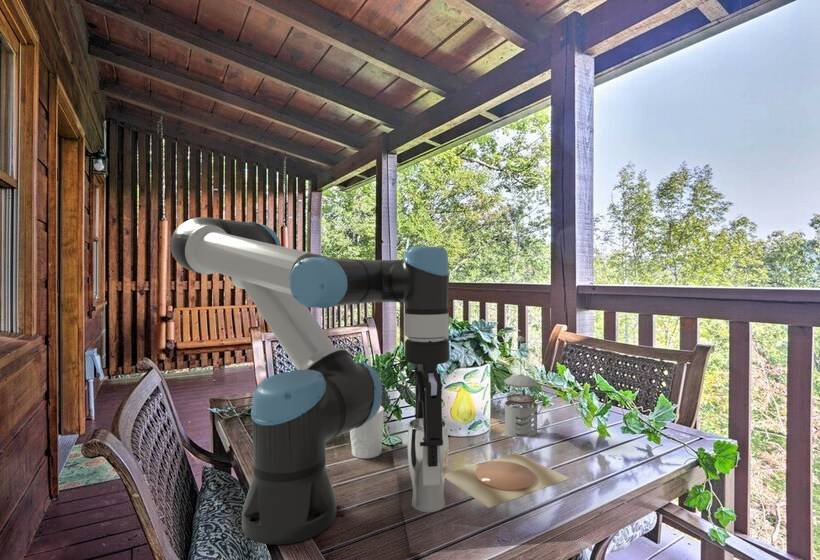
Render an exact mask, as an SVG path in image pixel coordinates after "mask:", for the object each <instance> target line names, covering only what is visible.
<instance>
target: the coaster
mask: <svg viewBox="0 0 820 560" xmlns="http://www.w3.org/2000/svg"><path fill="white" fill-rule="evenodd" d="M476 478H477V480H478V481H479V482H481V483H482V484H484V485H486V486H488V487H490V488H494V489H498V490H505V491H517V490H523V489H526V488H528V487H530V486H532V485H533V483H534V474H533V472H532V471H531V470H530V469H528V468H527V467H525V466H522V465H520V464H517V463H512V462H506V461H493V462H487V463H484V464H481V465H480V466H478V467H477V469H476Z"/></svg>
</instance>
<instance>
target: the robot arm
mask: <svg viewBox="0 0 820 560" xmlns="http://www.w3.org/2000/svg"><path fill="white" fill-rule="evenodd" d="M170 252H171V254H172V257H173V258H174V260H175V261H176V262H177V264H179V266H181V267H183V268H184V269H186V270H188V271H192V272H195V273H199V274H202V275H212V274H216V273H217V274H220V275H223V276H225V277H226V276H227V278H229V280H230V282H231V283H232V285H233V286H234V287H235V288H237V289H239V290H240V289H241V290H245V291H246V293H247V295H248V297H250V300H252V303H254V306H255V307H256V309H257V310H258V311H259V313H260V314H261V317H262V318H263V320H265V322H266V324H267V326H268V327H269V329H270V330H271V331H272V333H273V335H274V336H275V338H276V340H277V342H279V344H280V347H282V348H283V351H284V352H285V353H286V355H287V356H288V359H290V361H291V363H292V364H293V366H294V368H295V369H294V370H292V371H283V372H280V373H277V374H274V375H271V376H269V377H267V378H265V379H263V380H261V382H260V383H258V384H257V385H256V386H255V388H254V390H253V394H252V404H251V405H252V407H251V408H250V409H251V411H250V417H251V424H252V425H251V429H252V431H251V432H252V478H251V481H250V484H249V487H248V492H247V494H246V497H245V501H244V504H243V506H242V510H241V530H242V532H243V534H244V535H245V536H246V537H247V538H248V539H249V540H252V541H254V542H256V543H259V544H263V545H271V546H272V545H275V546H277V545H278V546H281V545H289V544H294V543H299V542H302V541H306V540H309V539H312V538H314V537H315V536H317V535H319V534H321V533H323V532H324V531H325V530H327V529H328V528H329V527H330V526H331V525H332V524H333V522H335V519H336V517H337V512H338V511H337V497H336V493H335V491H334V488H333V484H332V481H331V479H330V475H329V473H328V470H327V467H326V443H327V442H328V441H330V440H332V439H334V438H337V437H339V436H341V435H344V434H345V433H348V432H350V430H352V429H354V428H358V427H360V426H362V425H363V424H364V423H365V422H367V421H369V420H370V419H372V418H373V417H374V416H375V415H376V413H377V412H378V410H379V408H380V406H382V402H383V398H382V396H383V384H382V381H381V378H380V376H379V374H378V373H377V371H376V370H375V368H373V366H371V365H370V364H368V363H363V362H356V361H355V360H354V358H353V357H352V356H351V354H350V353H349V352H348V350H347V349H346V348H340V347H336V346H335V345H334V343H333V342H332V341H331V339H330V337H328V335H327V334H326V332H325V330H324V329H323V328H322V327H321V325H320V324H319V323H318V321H317V319H316V317H315V316H314V315H313V314H312V312H311V311H310V309H309V308H318V309H327V308H331V307H338V306H339V307H340V306H347V305H359V304H368V303H404V313H403V314H404V318H403V319H404V326H403V327H404V328H403V329H404V334H403V335H404V336H405V337H406V340H405V341H404V358H405V359H404V360H405V361H406V362H407V363H409V364H413V365H415V366H414V375H413V376H414V380H415V383H414V384H415V385H414V386H415V389H414V390H415V392H414V396H415V398H414V399H415V400H414V401H415V402H414V403H415V405H414V407H415V410H414V411H415V412H414V419H416V418H422V417H423V428H424V442H420V446H423V485H438V484H440V446H442V445H443V440H442V420H443V412H442V410H443V409H442V407H443V405H442V404H443V402H442V396H443V395H442V394H443V391H442V390H443V383H442V378H441V377H442V376H441V373H438V369H437V367H438V366H439V365H441V364H445V363H448V361H450V340H449V339H448V338H447V337H449V336H450V333H449V332H450V328H449V327H450V326H449V324H452V323H453V319H452V318H451V317H450V316H449V313H450V309H449V301H450V299H449V297H450V295H449V289H450V288H449V287H450V276H451V275H450V271H449V270H450V269H449V255H448V254H449V253H448V251H447V250H446V249H445V248H444V247H442V246H411V247H410V246H409V247H406V248H405V250H404V251H403V258H402V259H379V260H378V259H358V258H357V259H354V258H337V257H331V256H327V255H323V254H322V255H321V254H317V253H314V252H313V253H312V252H308V251H304V250H299V249H295V248H290V247H287V246H286V247H285V246H282V243H281V240H280V239H279V237H278V234H276V232H275V231H274V230H273V229H272V228H270V227H269V226H267V225H265V224H262V223H257V222H254V221H239V220H232V219H231V220H230V219H224V218H214V217H207V216H206V217H204V216H202V217H193V218H191V219H188V220H186V221H184V222H182V223H180V224H179V225H178V227H176V229H175V230H174V231H173V233H172V235H171V238H170Z"/></svg>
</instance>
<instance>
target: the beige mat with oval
mask: <svg viewBox="0 0 820 560" xmlns="http://www.w3.org/2000/svg"><path fill="white" fill-rule="evenodd" d="M493 461H506V462H512V463H517V464H520V465H522V466H525V467H527V468H528V469H530V470H531V471H532V472H533V474H534V483H533V485H532V486H530V487H528V488H526V489H523V490H517V491H505V490H498V489H494V488H490V487H488V486H486V485H484V484H482V483H481V482H479V481H478V480H477V478H476V469H477V467H478V466H480V465H481V464H484V463H487V462H493ZM570 479H571V478H570V477H568V476H566V475H564V474H562V473H560V472H557V471H555V470H553V469H551V468H550V467H547V466H545V465H543V464H541V463H539V462H537V461H535V460H532V459H531V458H528V456H527V457H526V456H525V455H522V454H520V453H519V452H514V453H510V454H507V455H504V456H501V457H497V458H494V459H490V460H487V461H484V462H480V463H477V464H474V465H470V466H466V467H464V468H463V467H462V468H460V469H456V470H453V471H450V472H446V475H445V480H447V481H448V482H450V483H452V484H453V485H454V486H455V487H458V488H459V489H460V490H462V491H463V492H465V493H466V494H468V495H469V496H470V497H472V498H473V499H475V500H476V501H478V502H479V503H481V504H482V505H484V506H485V507H486V508H488V509H491V508H493V507H496V506H499V505H501V504H503V503H507V502H510V501H512V500H515V499H518V498H521V497H523V496H526V495H529V494H532V493H535V492H537V491H539V490H542V489H545V488H548V487H551V486H553V485H556V484H560V483H561V482H564V481H567V480H570Z"/></svg>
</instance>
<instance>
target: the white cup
mask: <svg viewBox="0 0 820 560" xmlns="http://www.w3.org/2000/svg"><path fill="white" fill-rule="evenodd" d="M384 410H385V409H384V407H383V406H382V405H381V406H380V408H379V410H378V412H377V413H376V415H375V416H374V417H373V418H372V419H370V420H369V421H367V422H365V423H364V424H363V425H362V426H360V427H358V428H354V429H352V430H350V431H349V437H350V444H351V445H350V446H351V455H352V456H353V457H355V458H358V459H372V458H373V459H374V458H376V457H379V456H380V455H381V454H382V452H383V451H382V447H383V445H382V444H383V443H382V441H383V437H384V436H383V435H384V433H383V432H384Z"/></svg>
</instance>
